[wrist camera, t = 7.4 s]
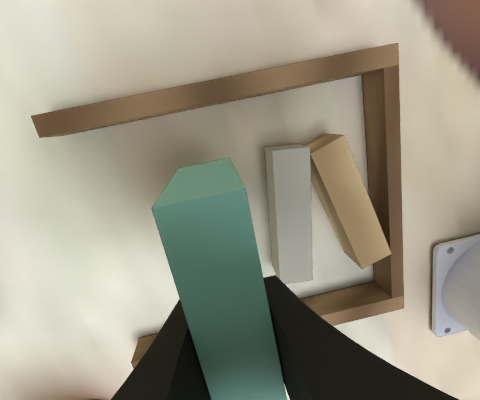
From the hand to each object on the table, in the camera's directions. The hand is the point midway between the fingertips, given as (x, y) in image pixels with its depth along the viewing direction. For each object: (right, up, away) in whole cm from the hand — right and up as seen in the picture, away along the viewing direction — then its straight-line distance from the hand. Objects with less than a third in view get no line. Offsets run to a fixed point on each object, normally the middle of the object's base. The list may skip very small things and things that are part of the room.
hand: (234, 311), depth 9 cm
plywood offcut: (+6, +4, +9) cm, 11 cm away
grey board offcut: (+3, +3, +8) cm, 10 cm away
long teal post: (0, 0, +3) cm, 3 cm away
